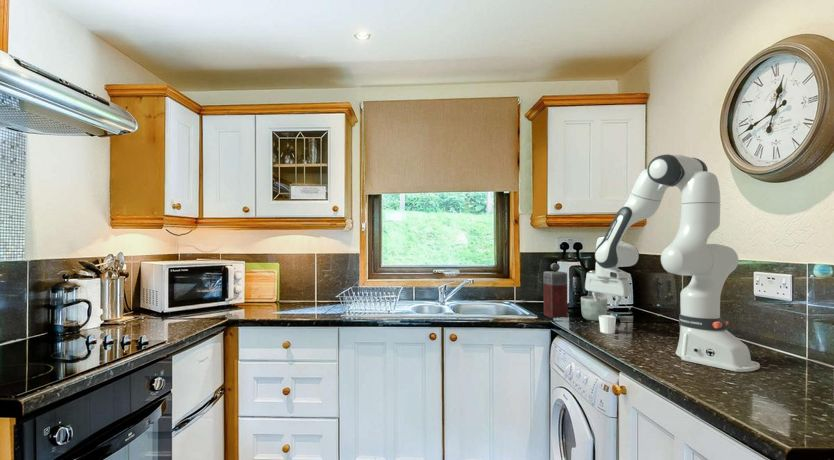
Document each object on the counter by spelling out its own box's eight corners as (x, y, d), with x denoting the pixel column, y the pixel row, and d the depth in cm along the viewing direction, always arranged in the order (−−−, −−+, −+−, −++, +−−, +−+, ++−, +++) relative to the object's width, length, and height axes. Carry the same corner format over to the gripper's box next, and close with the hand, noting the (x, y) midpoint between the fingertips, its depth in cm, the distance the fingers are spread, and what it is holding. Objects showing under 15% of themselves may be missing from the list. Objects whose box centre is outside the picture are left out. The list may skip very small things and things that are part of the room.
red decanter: (556, 313, 214) (556, 262, 215) (567, 317, 203) (567, 263, 204) (541, 313, 213) (541, 262, 213) (551, 317, 201) (551, 263, 202)
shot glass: (619, 334, 167) (619, 317, 167) (603, 334, 167) (602, 317, 167) (611, 330, 174) (611, 314, 174) (596, 330, 174) (595, 314, 174)
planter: (609, 318, 200) (609, 297, 200) (605, 323, 190) (604, 300, 190) (584, 316, 207) (583, 295, 207) (578, 319, 197) (578, 298, 197)
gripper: (581, 270, 179) (581, 300, 179) (622, 275, 161) (622, 308, 161) (591, 269, 182) (591, 299, 182) (632, 274, 164) (632, 307, 164)
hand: (606, 303), depth 171 cm, fingers open, 8 cm apart
